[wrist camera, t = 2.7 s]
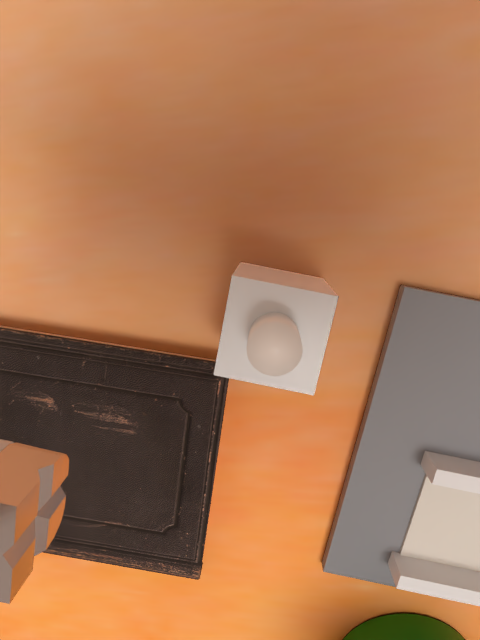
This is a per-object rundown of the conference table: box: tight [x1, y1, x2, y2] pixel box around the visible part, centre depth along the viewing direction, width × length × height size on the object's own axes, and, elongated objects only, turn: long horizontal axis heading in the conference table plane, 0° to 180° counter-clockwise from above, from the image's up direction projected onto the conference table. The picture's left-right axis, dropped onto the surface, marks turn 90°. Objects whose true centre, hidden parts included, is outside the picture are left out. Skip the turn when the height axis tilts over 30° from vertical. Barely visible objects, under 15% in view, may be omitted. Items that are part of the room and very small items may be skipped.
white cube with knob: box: [214, 262, 339, 395], centre depth 22 cm, size 5×5×8 cm
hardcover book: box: [0, 326, 229, 580], centre depth 29 cm, size 16×23×2 cm
